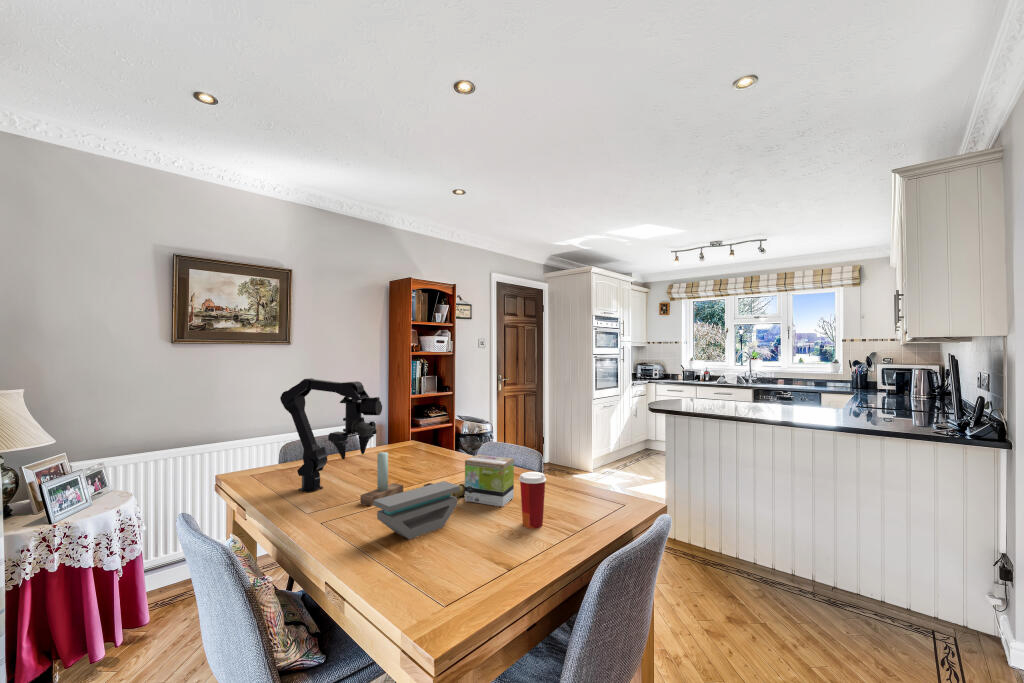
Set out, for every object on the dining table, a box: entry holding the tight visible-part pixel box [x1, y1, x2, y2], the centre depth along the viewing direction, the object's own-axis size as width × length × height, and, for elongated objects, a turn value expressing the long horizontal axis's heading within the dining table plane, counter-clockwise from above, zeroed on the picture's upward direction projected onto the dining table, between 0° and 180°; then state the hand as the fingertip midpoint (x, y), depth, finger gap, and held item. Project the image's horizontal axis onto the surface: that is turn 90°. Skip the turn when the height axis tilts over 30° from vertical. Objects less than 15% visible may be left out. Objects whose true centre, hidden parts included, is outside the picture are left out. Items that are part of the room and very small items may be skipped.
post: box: [376, 451, 389, 491], centre depth 159 cm, size 4×4×13 cm
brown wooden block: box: [359, 482, 404, 507], centre depth 159 cm, size 16×5×3 cm, turn 152°
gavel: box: [422, 482, 465, 498], centre depth 166 cm, size 21×5×10 cm
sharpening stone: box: [373, 480, 460, 540], centre depth 131 cm, size 25×8×11 cm, turn 138°
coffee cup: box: [518, 471, 547, 530], centre depth 135 cm, size 8×8×15 cm
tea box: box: [464, 454, 515, 508], centre depth 157 cm, size 15×10×15 cm
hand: (353, 456), depth 168 cm, fingers open, 9 cm apart
